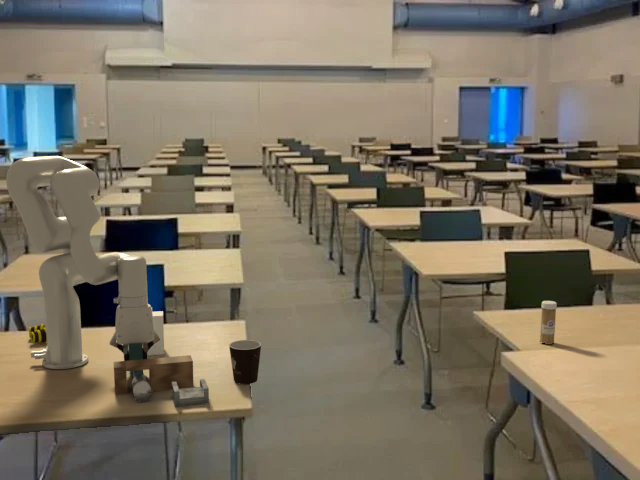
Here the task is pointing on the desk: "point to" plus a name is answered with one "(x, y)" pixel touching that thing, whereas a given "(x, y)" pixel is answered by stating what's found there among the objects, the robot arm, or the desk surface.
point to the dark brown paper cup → (245, 360)
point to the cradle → (190, 394)
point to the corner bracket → (158, 327)
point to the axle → (141, 388)
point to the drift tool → (135, 356)
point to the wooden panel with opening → (156, 372)
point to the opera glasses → (38, 334)
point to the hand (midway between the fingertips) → (136, 365)
